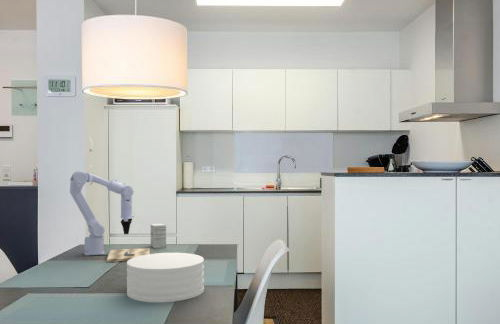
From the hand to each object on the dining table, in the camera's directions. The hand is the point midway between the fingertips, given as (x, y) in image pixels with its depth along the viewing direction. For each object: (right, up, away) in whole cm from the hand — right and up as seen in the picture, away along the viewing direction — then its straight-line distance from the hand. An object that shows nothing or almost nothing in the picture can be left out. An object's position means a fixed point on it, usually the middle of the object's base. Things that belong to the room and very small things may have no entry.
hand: (126, 233), depth 244 cm
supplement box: (+15, -10, +11) cm, 21 cm away
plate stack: (+36, -10, -77) cm, 85 cm away
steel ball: (+6, -8, -20) cm, 22 cm away
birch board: (+6, -9, -15) cm, 19 cm away
